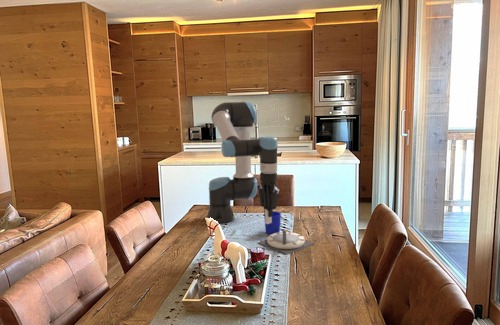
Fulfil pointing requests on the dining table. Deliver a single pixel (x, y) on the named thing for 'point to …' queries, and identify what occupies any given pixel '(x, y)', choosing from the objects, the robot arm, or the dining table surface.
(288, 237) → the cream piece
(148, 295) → the dining table surface
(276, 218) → the mug
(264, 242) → the bearing plate
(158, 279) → the dining table surface
